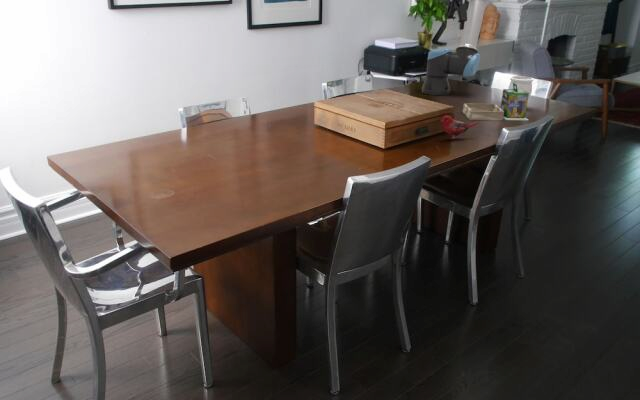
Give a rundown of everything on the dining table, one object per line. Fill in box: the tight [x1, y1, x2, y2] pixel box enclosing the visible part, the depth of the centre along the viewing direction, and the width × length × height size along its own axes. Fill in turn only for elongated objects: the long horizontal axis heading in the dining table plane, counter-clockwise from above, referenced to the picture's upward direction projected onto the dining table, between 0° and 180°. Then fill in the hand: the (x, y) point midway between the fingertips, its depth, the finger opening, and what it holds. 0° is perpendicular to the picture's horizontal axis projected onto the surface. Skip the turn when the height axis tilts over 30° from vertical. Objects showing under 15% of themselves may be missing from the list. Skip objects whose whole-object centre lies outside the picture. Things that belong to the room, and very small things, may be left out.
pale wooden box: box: [462, 103, 504, 121], centre depth 243 cm, size 15×15×4 cm
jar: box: [508, 75, 534, 104], centre depth 255 cm, size 11×10×15 cm
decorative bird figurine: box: [440, 115, 480, 140], centre depth 209 cm, size 3×18×10 cm, turn 106°
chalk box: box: [500, 83, 529, 118], centre depth 241 cm, size 9×9×15 cm
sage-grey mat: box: [503, 116, 529, 122], centre depth 244 cm, size 14×10×1 cm
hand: (454, 35), depth 248 cm, fingers open, 13 cm apart
